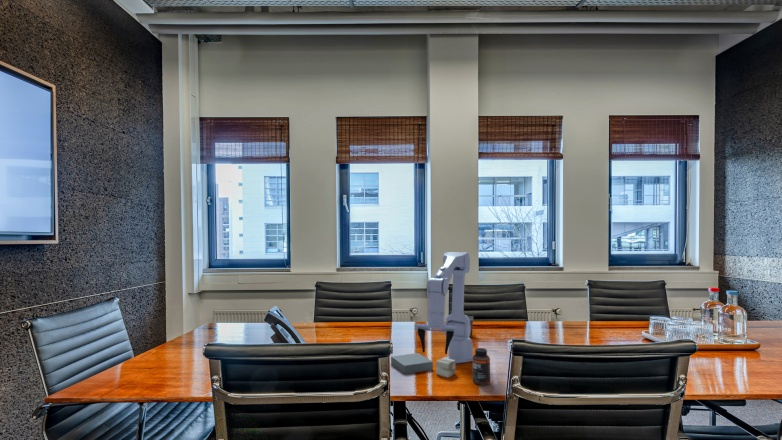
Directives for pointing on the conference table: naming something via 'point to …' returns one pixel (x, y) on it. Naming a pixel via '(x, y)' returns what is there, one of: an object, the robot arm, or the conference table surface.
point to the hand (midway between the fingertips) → (434, 352)
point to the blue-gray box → (411, 363)
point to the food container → (470, 323)
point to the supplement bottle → (481, 367)
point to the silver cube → (445, 367)
